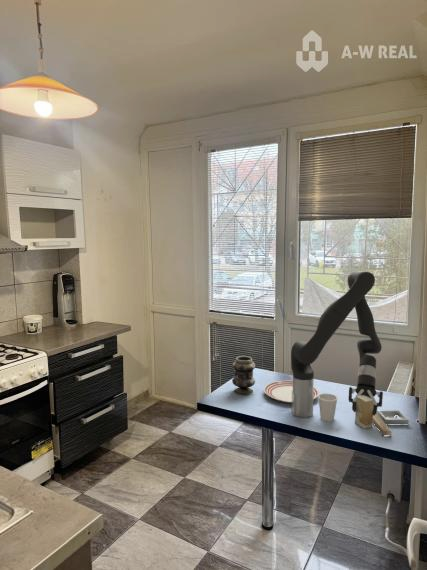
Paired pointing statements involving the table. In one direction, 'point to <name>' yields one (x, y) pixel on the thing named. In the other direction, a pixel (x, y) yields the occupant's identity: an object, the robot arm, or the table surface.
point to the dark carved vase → (243, 375)
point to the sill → (381, 425)
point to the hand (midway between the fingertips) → (364, 413)
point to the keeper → (392, 417)
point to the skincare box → (364, 411)
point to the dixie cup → (327, 406)
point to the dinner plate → (283, 391)
